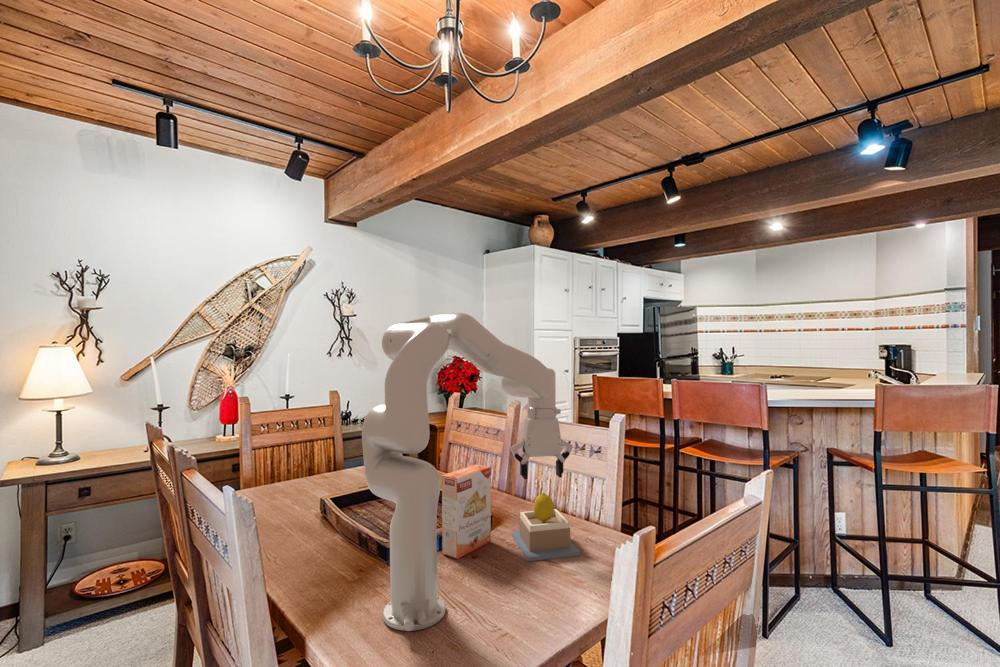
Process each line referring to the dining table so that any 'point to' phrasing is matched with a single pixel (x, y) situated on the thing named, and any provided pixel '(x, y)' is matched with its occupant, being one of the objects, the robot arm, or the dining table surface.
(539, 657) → the dining table surface
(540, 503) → the lemon
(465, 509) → the cracker box
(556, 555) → the stand
